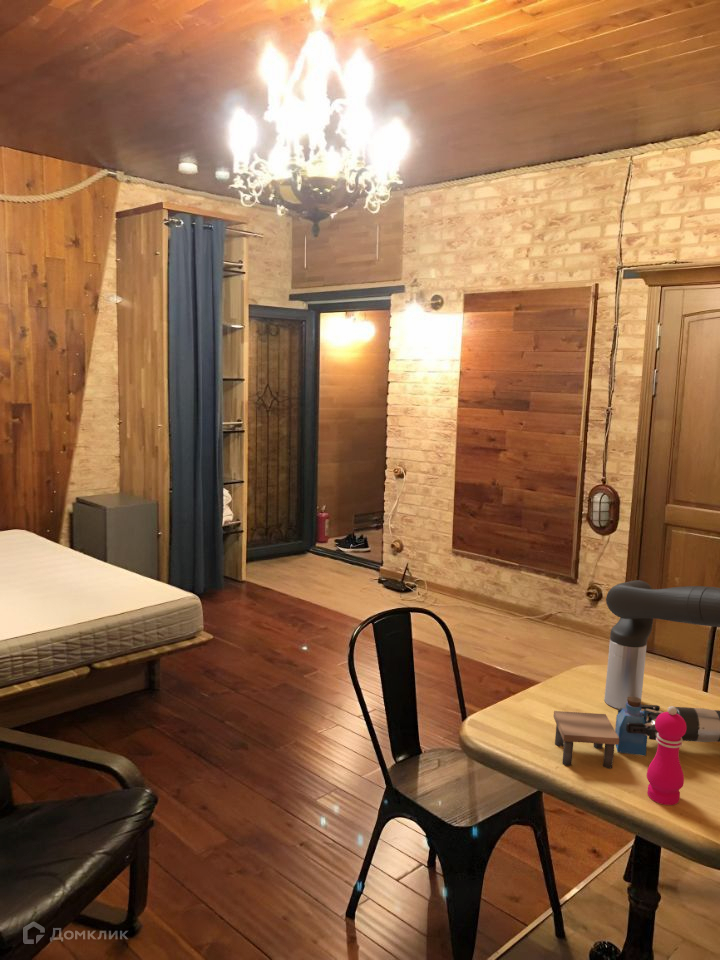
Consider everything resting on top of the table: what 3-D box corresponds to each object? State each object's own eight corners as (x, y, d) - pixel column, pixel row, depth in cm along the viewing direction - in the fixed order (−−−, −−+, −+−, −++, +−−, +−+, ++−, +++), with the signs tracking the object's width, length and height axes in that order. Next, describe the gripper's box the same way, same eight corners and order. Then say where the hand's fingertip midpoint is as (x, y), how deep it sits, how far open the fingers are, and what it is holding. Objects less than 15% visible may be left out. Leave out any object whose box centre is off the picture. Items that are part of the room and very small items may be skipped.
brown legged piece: (551, 740, 186) (554, 710, 185) (602, 744, 185) (605, 714, 184) (561, 766, 174) (564, 734, 173) (616, 770, 173) (619, 738, 172)
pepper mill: (662, 809, 158) (672, 716, 155) (637, 791, 165) (646, 701, 162) (689, 803, 161) (699, 711, 158) (663, 785, 168) (672, 696, 165)
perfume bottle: (645, 755, 180) (650, 706, 179) (617, 752, 182) (622, 703, 180) (641, 743, 186) (646, 695, 185) (614, 739, 188) (618, 692, 186)
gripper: (685, 696, 189) (615, 692, 190) (708, 723, 175) (632, 719, 175) (682, 725, 190) (612, 721, 191) (704, 755, 176) (629, 750, 177)
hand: (622, 720), depth 183 cm, fingers closed on perfume bottle, 7 cm apart
